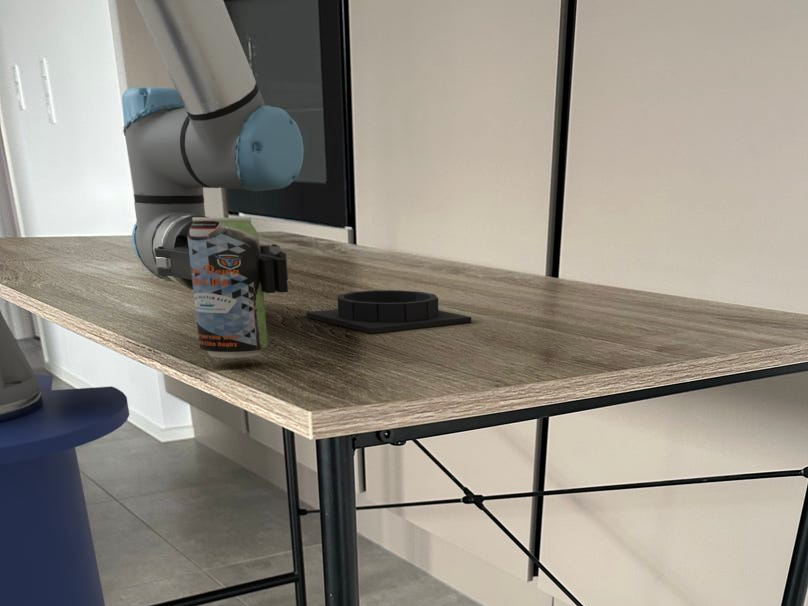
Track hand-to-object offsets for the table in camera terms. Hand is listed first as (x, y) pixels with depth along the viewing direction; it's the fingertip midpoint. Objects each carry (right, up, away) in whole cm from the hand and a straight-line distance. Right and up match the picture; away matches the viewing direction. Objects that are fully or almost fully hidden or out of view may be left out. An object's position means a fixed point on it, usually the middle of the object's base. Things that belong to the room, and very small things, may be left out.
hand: (276, 276), depth 82 cm
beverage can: (-4, -6, +4) cm, 8 cm away
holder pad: (+7, +6, +29) cm, 30 cm away
